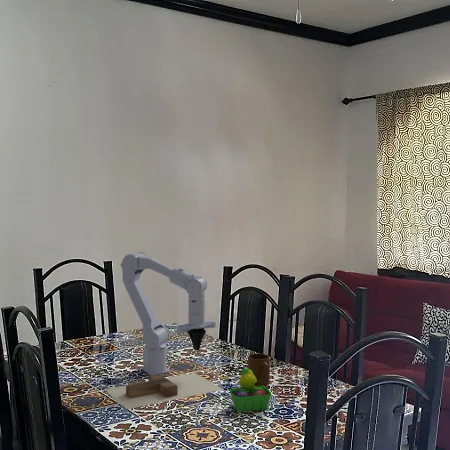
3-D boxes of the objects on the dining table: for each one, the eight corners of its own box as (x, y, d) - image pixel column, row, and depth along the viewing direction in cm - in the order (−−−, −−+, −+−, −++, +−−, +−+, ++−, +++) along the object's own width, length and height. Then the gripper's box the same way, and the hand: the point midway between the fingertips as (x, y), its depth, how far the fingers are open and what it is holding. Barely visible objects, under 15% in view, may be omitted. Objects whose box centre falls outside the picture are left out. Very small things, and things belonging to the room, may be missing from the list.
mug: (277, 390, 188) (278, 362, 187) (256, 392, 185) (256, 364, 185) (265, 379, 199) (265, 352, 199) (244, 380, 197) (244, 354, 196)
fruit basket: (235, 414, 167) (236, 376, 167) (227, 403, 176) (227, 367, 175) (272, 410, 170) (272, 373, 170) (262, 400, 179) (262, 364, 178)
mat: (104, 390, 187) (104, 389, 187) (194, 374, 205) (194, 372, 205) (126, 410, 170) (126, 409, 170) (223, 390, 188) (223, 389, 188)
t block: (120, 389, 187) (120, 380, 187) (159, 382, 195) (159, 373, 194) (136, 403, 175) (136, 393, 175) (177, 394, 183) (177, 385, 183)
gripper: (183, 316, 194) (183, 355, 194) (219, 311, 201) (219, 349, 202) (174, 312, 200) (174, 350, 200) (210, 308, 207) (209, 344, 208)
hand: (196, 349), depth 201 cm, fingers closed
